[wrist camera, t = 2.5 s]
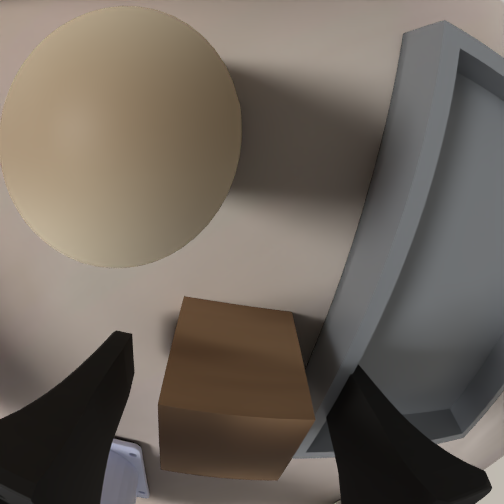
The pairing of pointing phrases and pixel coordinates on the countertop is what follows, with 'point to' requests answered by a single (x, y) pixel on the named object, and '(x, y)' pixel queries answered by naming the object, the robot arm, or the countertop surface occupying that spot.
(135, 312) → the countertop surface
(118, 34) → the maple dowel
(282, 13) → the countertop surface
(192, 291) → the countertop surface
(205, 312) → the walnut block
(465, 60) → the tray
